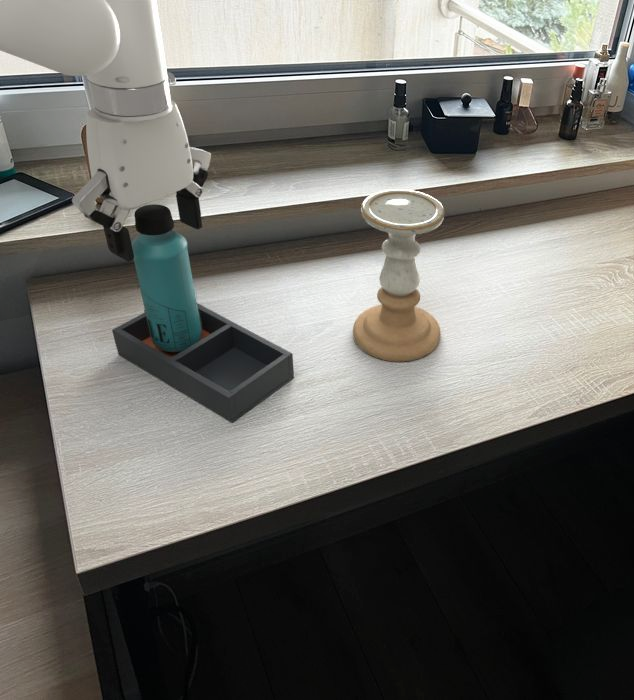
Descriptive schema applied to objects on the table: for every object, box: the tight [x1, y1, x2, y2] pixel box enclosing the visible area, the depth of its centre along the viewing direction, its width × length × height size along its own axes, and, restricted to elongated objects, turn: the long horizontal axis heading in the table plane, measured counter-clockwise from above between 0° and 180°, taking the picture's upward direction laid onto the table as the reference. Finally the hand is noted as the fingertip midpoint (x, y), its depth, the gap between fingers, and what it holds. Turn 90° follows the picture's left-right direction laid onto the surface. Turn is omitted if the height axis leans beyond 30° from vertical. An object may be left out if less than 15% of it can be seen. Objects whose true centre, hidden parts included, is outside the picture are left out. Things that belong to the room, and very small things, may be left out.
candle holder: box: [352, 188, 445, 363], centre depth 96 cm, size 12×12×20 cm
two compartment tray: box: [111, 302, 295, 424], centre depth 92 cm, size 11×20×4 cm, turn 58°
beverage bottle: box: [131, 203, 202, 352], centre depth 88 cm, size 6×7×20 cm
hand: (158, 240), depth 85 cm, fingers open, 9 cm apart
